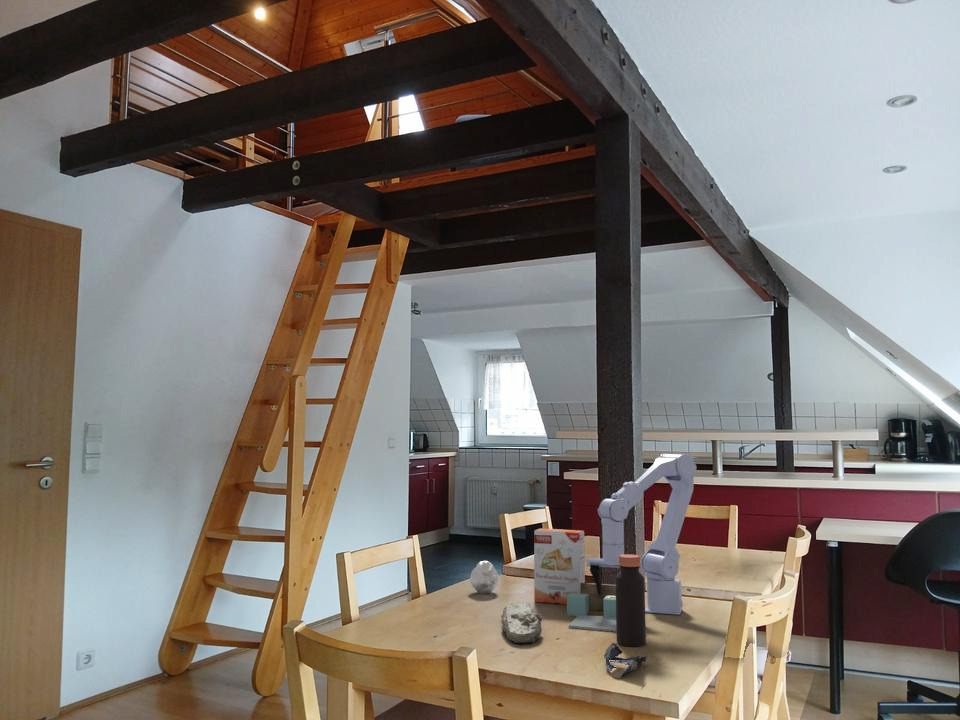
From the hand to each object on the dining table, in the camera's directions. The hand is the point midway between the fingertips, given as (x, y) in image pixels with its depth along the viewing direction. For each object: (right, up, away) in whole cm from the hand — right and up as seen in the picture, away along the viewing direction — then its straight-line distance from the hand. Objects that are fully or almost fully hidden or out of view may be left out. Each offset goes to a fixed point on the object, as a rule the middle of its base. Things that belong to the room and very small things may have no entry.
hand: (613, 595), depth 201 cm
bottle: (-1, -3, -27) cm, 27 cm away
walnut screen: (-1, -6, +7) cm, 9 cm away
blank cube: (-9, -6, +3) cm, 11 cm away
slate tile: (-6, -5, -9) cm, 12 cm away
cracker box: (-13, -8, +17) cm, 22 cm away
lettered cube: (0, -6, -1) cm, 6 cm away
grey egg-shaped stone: (-35, -9, +30) cm, 47 cm away
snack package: (-6, -1, -46) cm, 47 cm away
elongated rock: (-26, -5, -11) cm, 29 cm away
